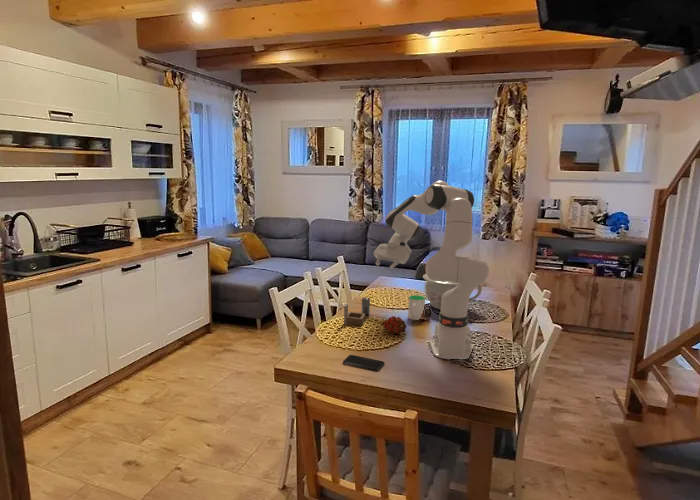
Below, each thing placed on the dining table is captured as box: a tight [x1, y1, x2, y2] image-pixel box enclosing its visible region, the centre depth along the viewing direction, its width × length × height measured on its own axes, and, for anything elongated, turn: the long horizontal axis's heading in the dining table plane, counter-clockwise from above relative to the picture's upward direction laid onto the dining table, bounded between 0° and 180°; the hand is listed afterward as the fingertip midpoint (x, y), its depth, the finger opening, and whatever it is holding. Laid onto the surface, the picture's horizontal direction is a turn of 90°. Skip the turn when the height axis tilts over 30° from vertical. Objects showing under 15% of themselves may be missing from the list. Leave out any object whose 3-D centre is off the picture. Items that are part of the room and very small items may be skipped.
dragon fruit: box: [381, 315, 407, 335], centre depth 207 cm, size 8×8×12 cm
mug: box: [407, 294, 426, 321], centre depth 227 cm, size 12×8×10 cm, turn 162°
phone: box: [342, 354, 385, 372], centre depth 176 cm, size 8×1×15 cm
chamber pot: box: [422, 273, 482, 311], centre depth 245 cm, size 28×28×21 cm
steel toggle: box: [361, 296, 371, 318], centre depth 230 cm, size 4×4×9 cm
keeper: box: [343, 303, 366, 327], centre depth 219 cm, size 10×9×10 cm
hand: (384, 266), depth 235 cm, fingers open, 8 cm apart
